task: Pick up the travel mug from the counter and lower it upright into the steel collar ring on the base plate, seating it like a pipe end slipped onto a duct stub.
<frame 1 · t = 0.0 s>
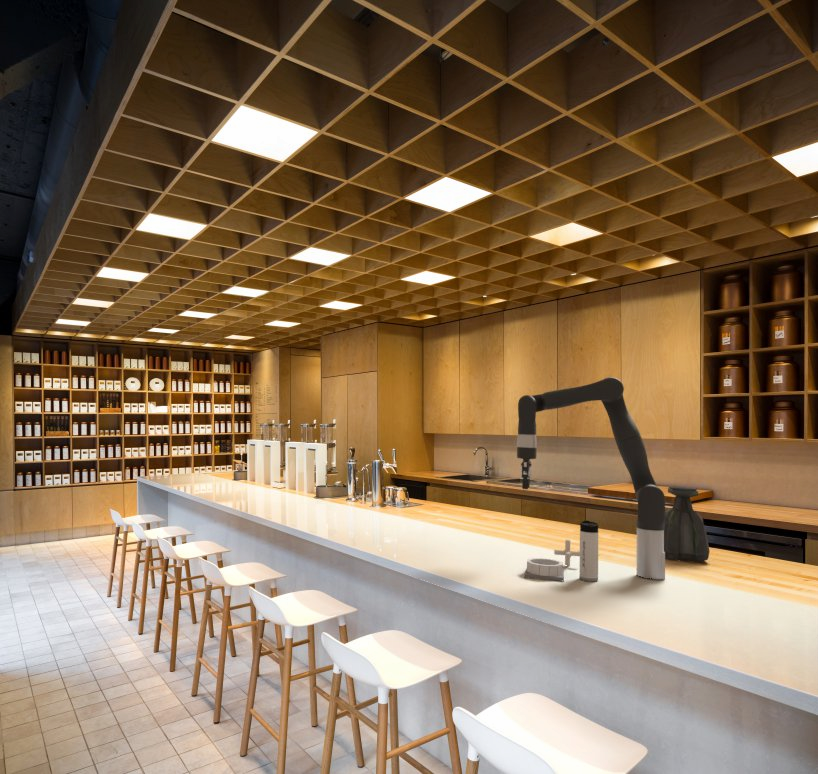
hand: (525, 488, 224), 29 cm above the table, tool pointing down, fingers open, 8 cm apart
duct collar: (544, 575, 206), on the table
pipe connector: (567, 567, 223), on the table
dark grey ribbed vase: (682, 558, 248), on the table
travel mug: (588, 580, 203), on the table
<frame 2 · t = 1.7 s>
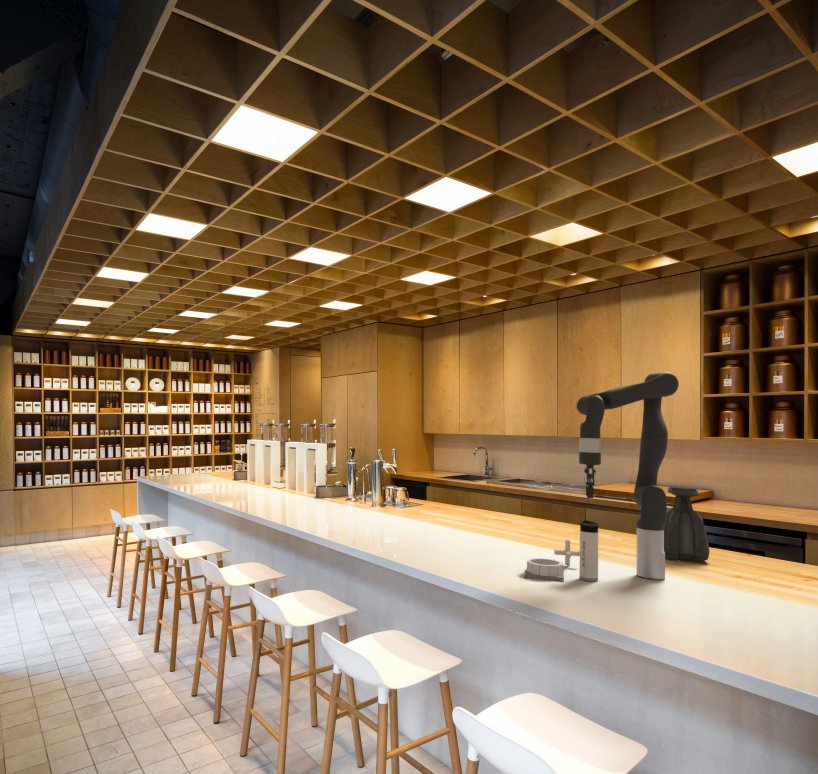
hand: (589, 497, 205), 29 cm above the table, tool pointing down, fingers open, 8 cm apart
nothing on the table moved.
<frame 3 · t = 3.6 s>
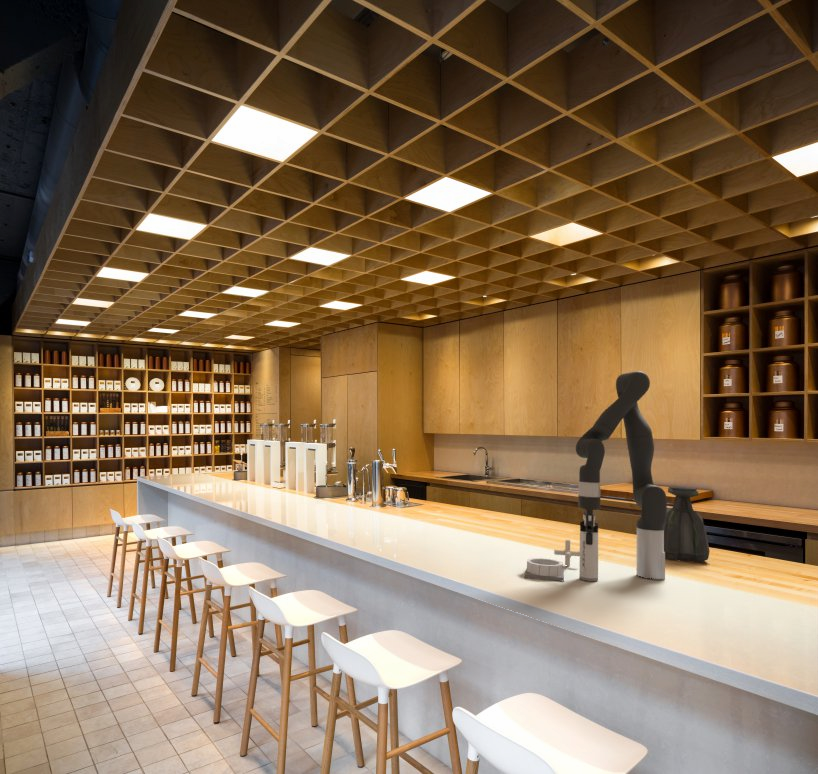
hand: (588, 542, 204), 13 cm above the table, tool pointing down, fingers closed on travel mug, 6 cm apart
travel mug: (588, 580, 203), on the table, touching gripper
everything else where it was.
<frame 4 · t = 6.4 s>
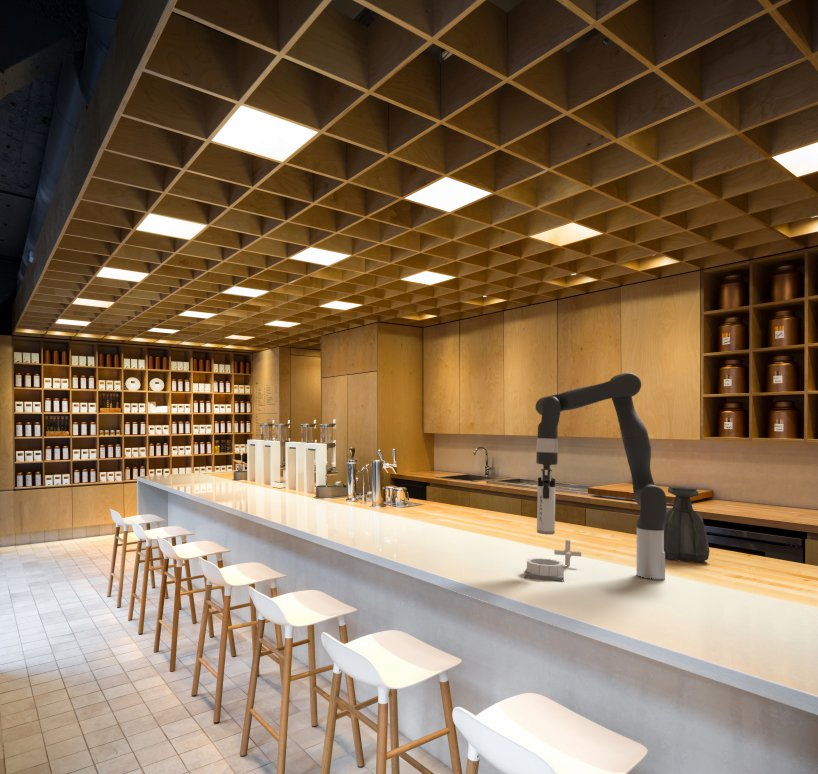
hand: (546, 497, 209), 28 cm above the table, tool pointing down, fingers closed on travel mug, 6 cm apart
travel mug: (545, 533, 208), point 15 cm above the table, touching gripper
everything else where it was.
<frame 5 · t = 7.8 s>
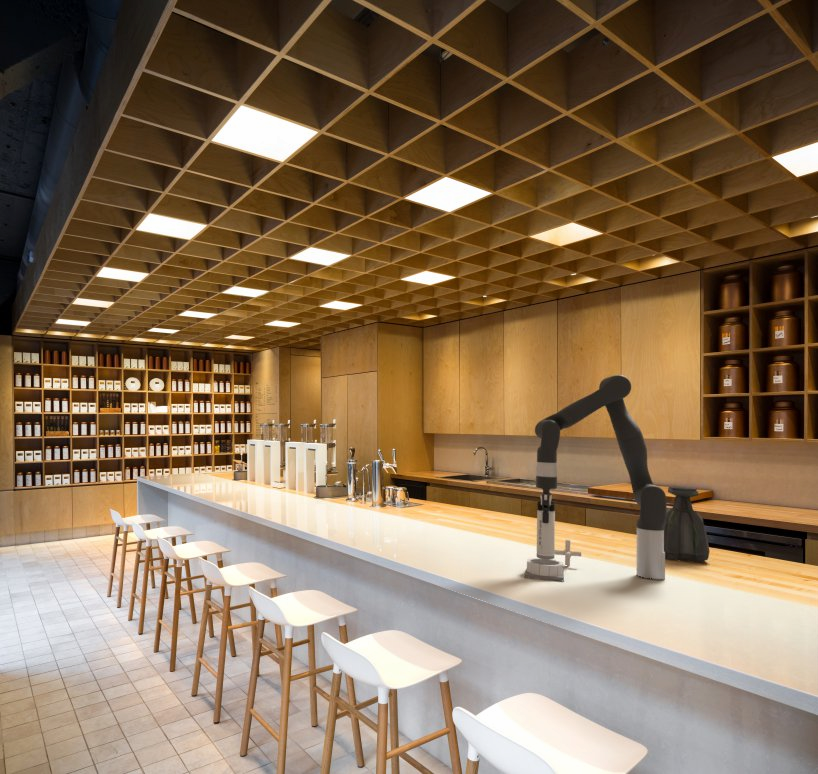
hand: (545, 521, 208), 19 cm above the table, tool pointing down, fingers closed on travel mug, 6 cm apart
travel mug: (545, 558, 207), point 6 cm above the table, touching gripper
everything else where it was.
when the fingers open (15 cm above the table, at t = 9.1 s): travel mug drops 1 cm, resting on duct collar.
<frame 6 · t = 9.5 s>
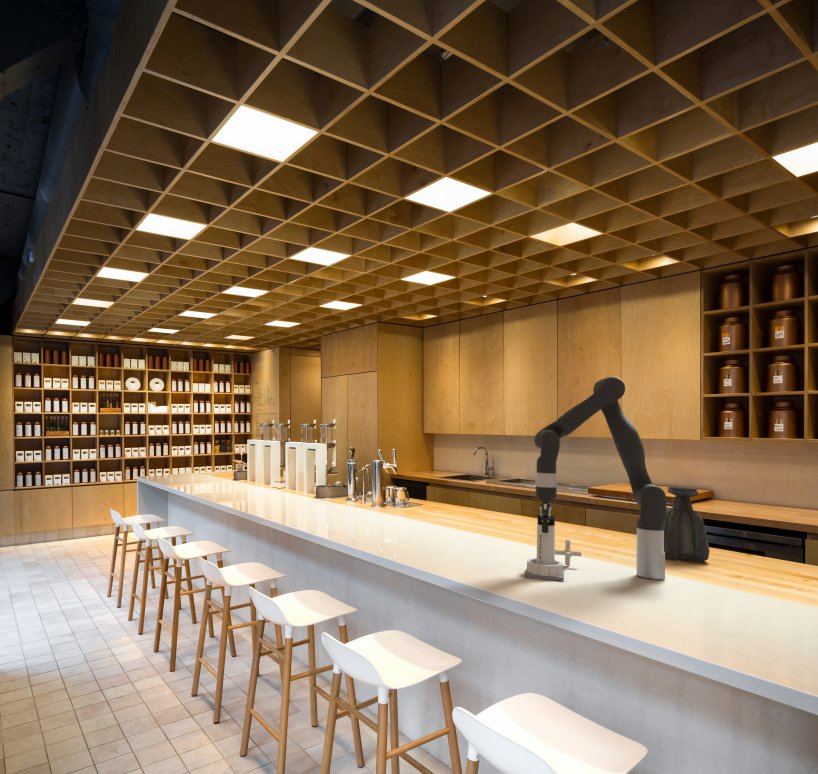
hand: (545, 531, 208), 16 cm above the table, tool pointing down, fingers open, 8 cm apart
travel mug: (545, 572, 207), point 1 cm above the table, touching duct collar
everything else where it was.
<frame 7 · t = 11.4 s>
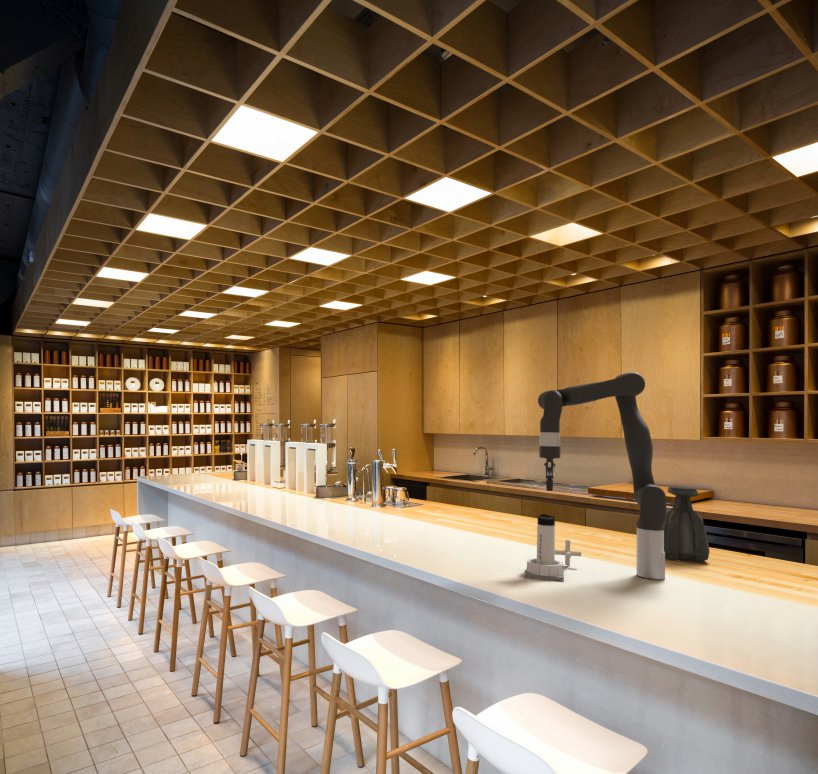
hand: (549, 489, 210), 30 cm above the table, tool pointing down, fingers open, 8 cm apart
nothing on the table moved.
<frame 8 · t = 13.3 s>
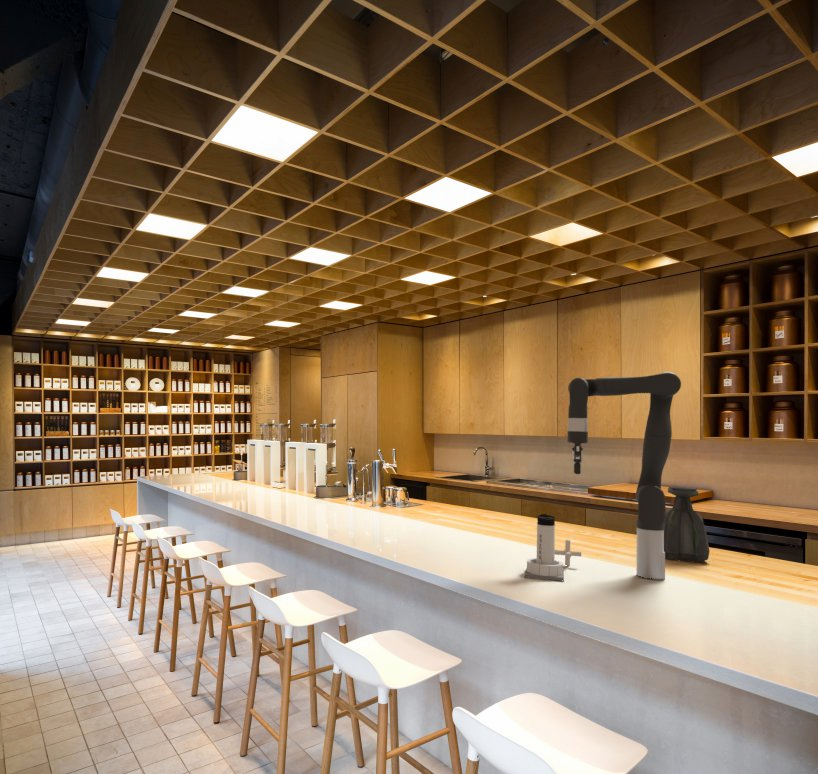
hand: (577, 473, 218), 36 cm above the table, tool pointing down, fingers open, 8 cm apart
nothing on the table moved.
at the end: travel mug 0.4 cm off-centre on the duct collar, point 1.0 cm above the duct collar's base; travel mug tilted 0°; the gripper is holding nothing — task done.
